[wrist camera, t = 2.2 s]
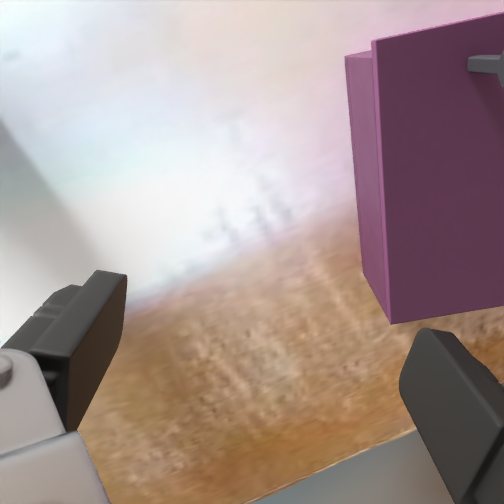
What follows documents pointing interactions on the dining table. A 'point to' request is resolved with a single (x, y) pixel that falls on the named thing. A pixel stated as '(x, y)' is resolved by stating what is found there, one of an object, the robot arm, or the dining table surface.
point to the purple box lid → (441, 167)
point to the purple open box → (366, 169)
